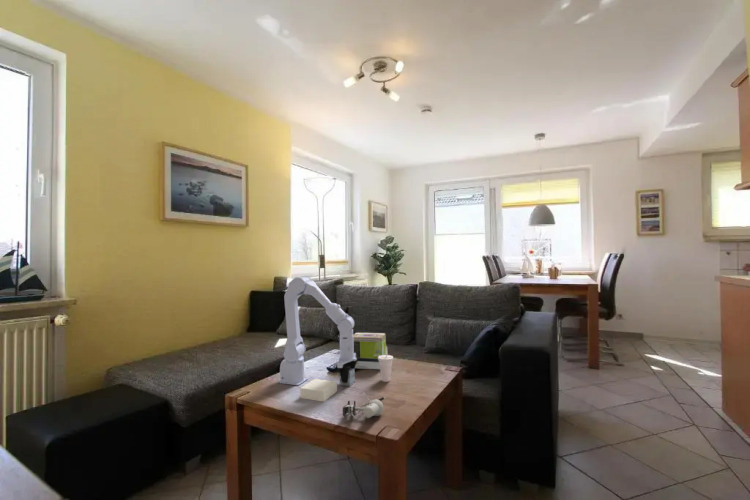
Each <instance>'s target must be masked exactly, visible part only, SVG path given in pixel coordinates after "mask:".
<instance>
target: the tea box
mask: <svg viewBox="0 0 750 500" xmlns="http://www.w3.org/2000/svg"><path fill="white" fill-rule="evenodd" d="M353 336H354V353H356V358H357V363H356V365H355V368H354V369H360V370H361V369H362V370H363V369H364V370H380V365H379V360H378V357H379V356H380V355H386V346H387V337H386V336H387V335H386V332H355V333H353Z"/></svg>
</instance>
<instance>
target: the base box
mask: <svg viewBox="0 0 750 500" xmlns="http://www.w3.org/2000/svg"><path fill="white" fill-rule="evenodd" d="M299 389H300V395H299V396H300V399H306V400H311V401H317V402H323V403H325V401H327V400H328V399H329V398H330V397H332V396H333V395H335V394H336V393H337V392H338V381H334V380H327V379H326V380H325V379H319V378H313V379H312V380H311V381H309V382H307V383H305V384H304V385H303V386H301V387H300V388H299Z"/></svg>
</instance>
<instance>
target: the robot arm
mask: <svg viewBox="0 0 750 500" xmlns="http://www.w3.org/2000/svg"><path fill="white" fill-rule="evenodd" d="M303 294H304V295H310V296H312V297H313V298H314V299H315V300H316V301H317V302H318V303H319V304H320V305H322V307H324V308H325V313H326V315H327V316H328V317H329V318H330V319H331V320H332V322H333V323H335V325H337V329H338V332H339V359H338V361H337V362H336V369H337V370H338V372H339V377H340V376H341V380H342V382H343V383H347V382H348V374H349V370H350V368H352V369H356V368H355V365H356V363H357V358H356V353H354V336H353V335H354V329H353V328H354V327H355V320H354V318H353V317H352V316H350V315H349V314H348V313H346V312H345V311H344V310H343V309H342V308H341V305H340V304H338V303H335V302H331V300H330V299H329V298H328V297H327V296H326V295H325V293H324V292H323V291H322V290H321V289H320V287H319V286H318V285H317V284H316V282H315V280H313V279H312V278H311V277H310V276H308V275H303V276H299V277H294V278H293V279H291V281H289V282H288V287H287V289H286V291H285V293H284V296H283V297H284V299H283V301H284V310H285V322H286V334H287V335H286V336H287V339H286V341H285V343H284V350H283V358H284V359H283V360H281V363H280V365H279V366H280V367H279V379H280V380H279V384H283V385H293V386H300V385H302V384H303V383H304V382H306V381H307V380H309V377H306V376H305V358H304V354H305V353H306V344H305V343H304V339H303V337H302V336H301V328H300V327H301V326H300V316H299V315H300V313H299V303H298V299H299V298H300V297H301V296H302V295H303Z"/></svg>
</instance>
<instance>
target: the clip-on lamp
mask: <svg viewBox="0 0 750 500" xmlns="http://www.w3.org/2000/svg"><path fill="white" fill-rule="evenodd" d="M363 394H364V396H365V398H366V400H367V401H368V404H366V403H363V404H362V406H361V407H359V406H357V407H356V405H357V404H356V400H353V404H351V402H350V400H348V401H347V403H346V405H344V406H343V407H342V416H344V417H345V416H349V415H350V416H352V417H353V418H354V419H355V420H358V415H359V413H360V412H362V415H363V417H365V418H367V419H370V418H372V417H379V416H381V415H382V414H383V412H384V404H383V402H382V401H384V399H387V396H384V397H381V398H379V399H377V398H375V399H372V400H370V398H369V397H368V395H367V394H366V393H365V392H364V391H363ZM356 411H358V412H356ZM355 415H356V416H355Z"/></svg>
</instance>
